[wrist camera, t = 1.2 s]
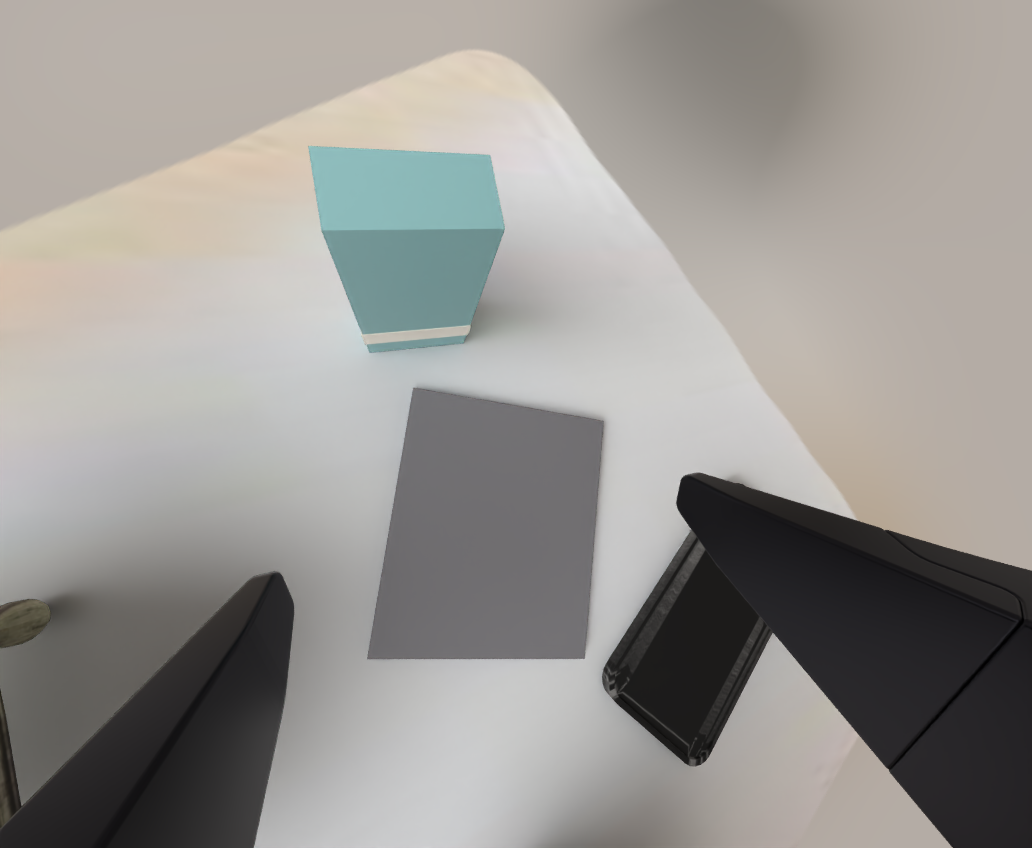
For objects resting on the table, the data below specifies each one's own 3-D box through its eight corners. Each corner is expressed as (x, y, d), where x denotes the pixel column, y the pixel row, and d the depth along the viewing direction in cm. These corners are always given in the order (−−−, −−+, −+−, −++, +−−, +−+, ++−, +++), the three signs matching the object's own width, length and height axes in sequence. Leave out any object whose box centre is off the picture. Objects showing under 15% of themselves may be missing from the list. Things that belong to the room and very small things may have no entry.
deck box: (464, 344, 20) (506, 230, 11) (368, 353, 19) (319, 232, 9) (456, 301, 21) (491, 153, 11) (361, 308, 19) (305, 144, 10)
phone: (600, 689, 19) (736, 475, 23) (591, 678, 20) (721, 475, 24) (700, 776, 20) (814, 555, 24) (686, 761, 21) (797, 551, 25)
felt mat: (580, 654, 20) (584, 658, 19) (368, 653, 17) (367, 659, 17) (599, 422, 22) (603, 420, 21) (413, 389, 19) (413, 387, 19)
